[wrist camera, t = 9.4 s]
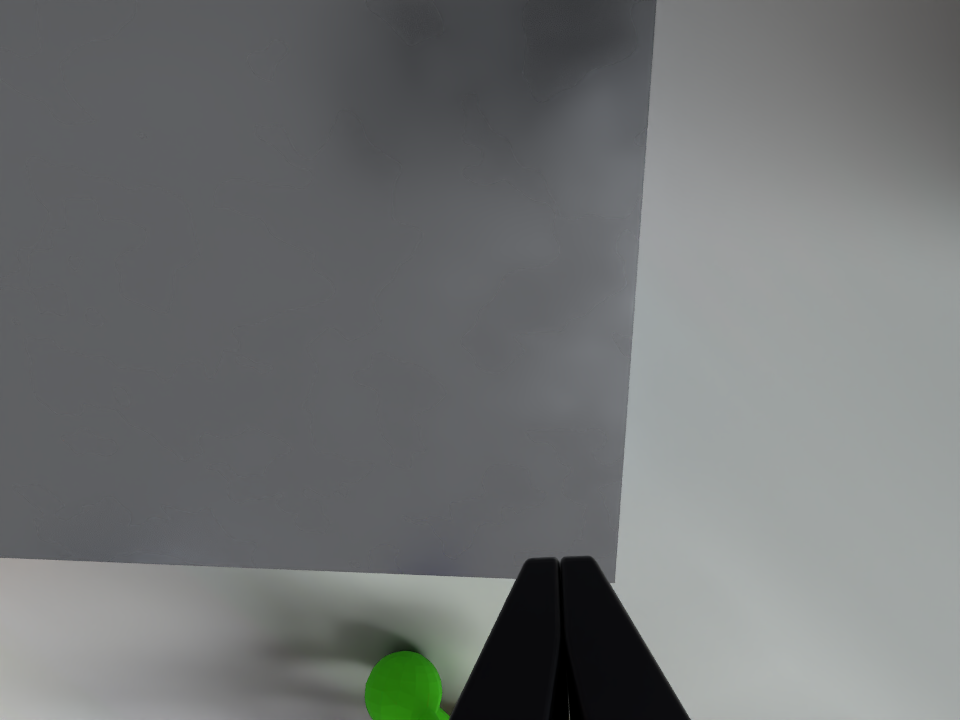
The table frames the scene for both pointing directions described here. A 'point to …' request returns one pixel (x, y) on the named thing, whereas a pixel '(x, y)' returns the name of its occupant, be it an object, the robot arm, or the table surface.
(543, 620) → the robot arm
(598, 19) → the slate plate
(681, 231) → the table surface
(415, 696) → the molecular model
